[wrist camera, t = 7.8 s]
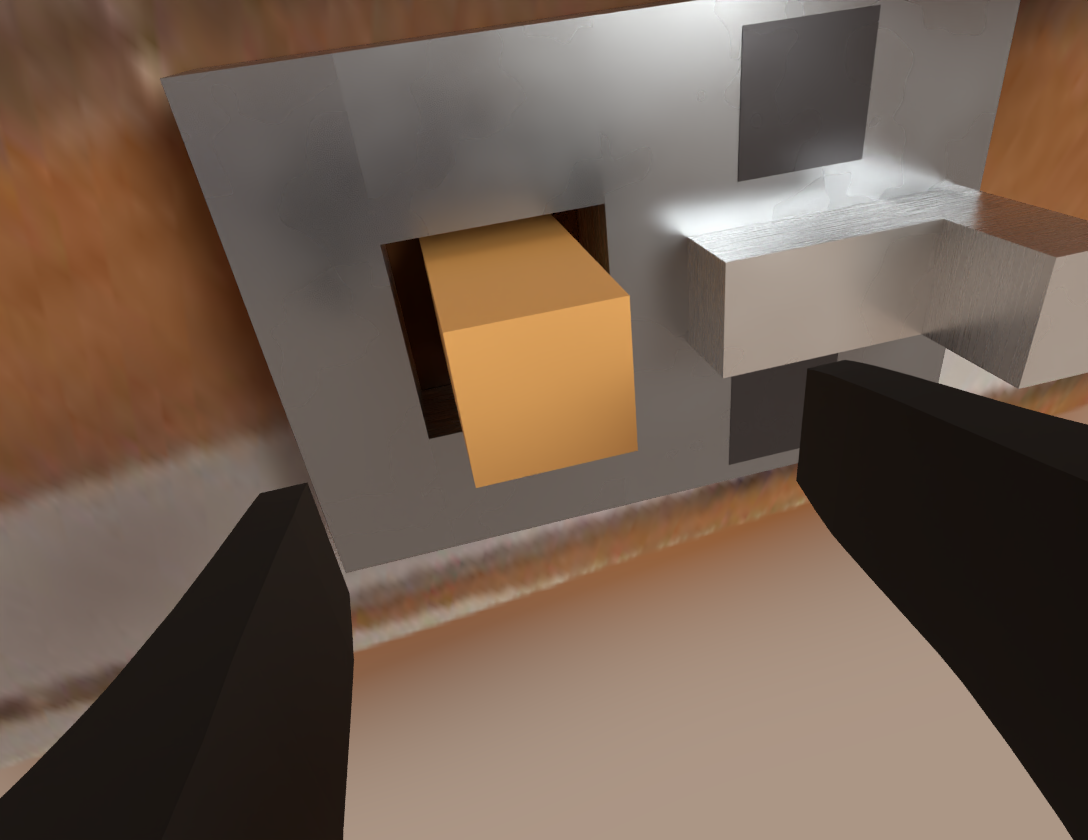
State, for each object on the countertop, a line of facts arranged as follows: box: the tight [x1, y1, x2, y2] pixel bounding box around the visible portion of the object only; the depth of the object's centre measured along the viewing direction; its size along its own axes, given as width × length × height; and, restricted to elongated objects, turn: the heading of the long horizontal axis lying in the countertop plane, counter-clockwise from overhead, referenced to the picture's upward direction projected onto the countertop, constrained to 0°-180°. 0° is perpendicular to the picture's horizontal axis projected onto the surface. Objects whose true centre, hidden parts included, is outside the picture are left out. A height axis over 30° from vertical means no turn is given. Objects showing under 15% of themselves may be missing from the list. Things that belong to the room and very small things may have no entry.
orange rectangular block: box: [419, 214, 638, 488], centre depth 14 cm, size 3×3×6 cm
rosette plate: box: [160, 0, 1020, 573], centre depth 16 cm, size 16×11×2 cm
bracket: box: [688, 185, 1088, 389], centre depth 14 cm, size 6×2×4 cm, turn 97°
